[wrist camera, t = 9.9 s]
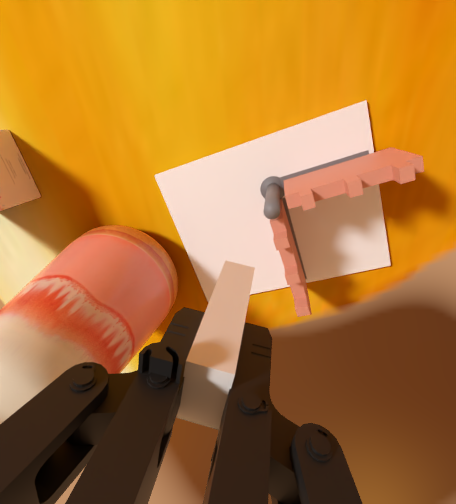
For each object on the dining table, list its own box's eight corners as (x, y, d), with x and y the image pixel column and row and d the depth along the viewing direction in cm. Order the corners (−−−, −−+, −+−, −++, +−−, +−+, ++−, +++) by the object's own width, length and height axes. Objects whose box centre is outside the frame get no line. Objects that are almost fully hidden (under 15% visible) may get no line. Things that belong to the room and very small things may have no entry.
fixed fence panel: (390, 146, 29) (432, 157, 21) (392, 160, 29) (433, 176, 21) (265, 185, 32) (261, 206, 24) (268, 197, 33) (265, 222, 25)
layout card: (365, 100, 28) (366, 100, 27) (389, 263, 34) (391, 265, 34) (155, 174, 34) (154, 175, 34) (209, 301, 40) (208, 303, 40)
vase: (189, 314, 42) (36, 660, 15) (97, 309, 44) (-176, 602, 18) (177, 217, 36) (-112, 508, 9) (71, 217, 38) (-404, 451, 12)
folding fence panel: (271, 201, 33) (269, 228, 25) (281, 198, 32) (283, 224, 25) (296, 282, 36) (300, 326, 29) (305, 279, 36) (313, 324, 28)
